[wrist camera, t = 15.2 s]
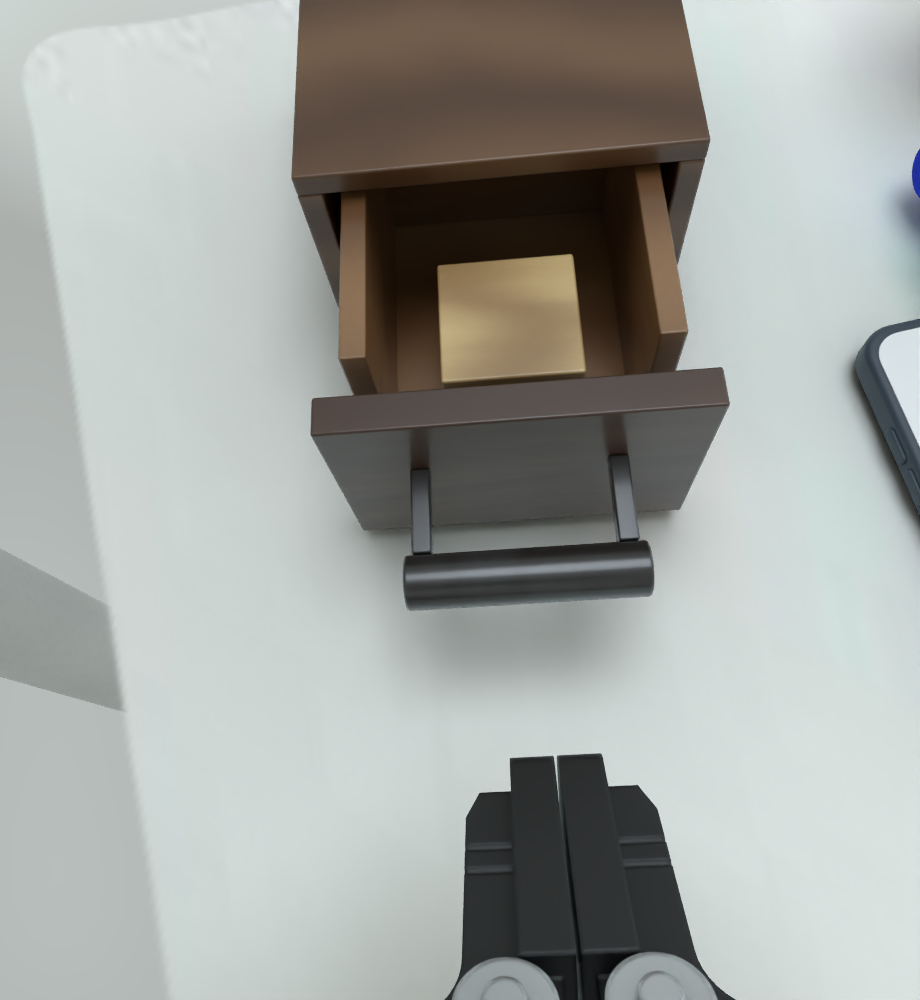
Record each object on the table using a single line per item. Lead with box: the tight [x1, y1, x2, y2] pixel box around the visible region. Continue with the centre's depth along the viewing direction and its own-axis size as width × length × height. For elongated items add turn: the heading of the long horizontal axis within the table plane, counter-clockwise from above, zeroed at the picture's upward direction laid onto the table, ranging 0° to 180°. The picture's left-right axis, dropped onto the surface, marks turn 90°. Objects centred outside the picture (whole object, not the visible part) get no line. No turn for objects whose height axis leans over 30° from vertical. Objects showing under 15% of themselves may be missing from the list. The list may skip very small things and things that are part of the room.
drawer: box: [311, 163, 730, 611], centre depth 27 cm, size 18×11×8 cm, turn 2°
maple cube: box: [437, 254, 586, 389], centre depth 28 cm, size 4×4×4 cm
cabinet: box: [292, 0, 710, 307], centre depth 32 cm, size 15×13×10 cm
